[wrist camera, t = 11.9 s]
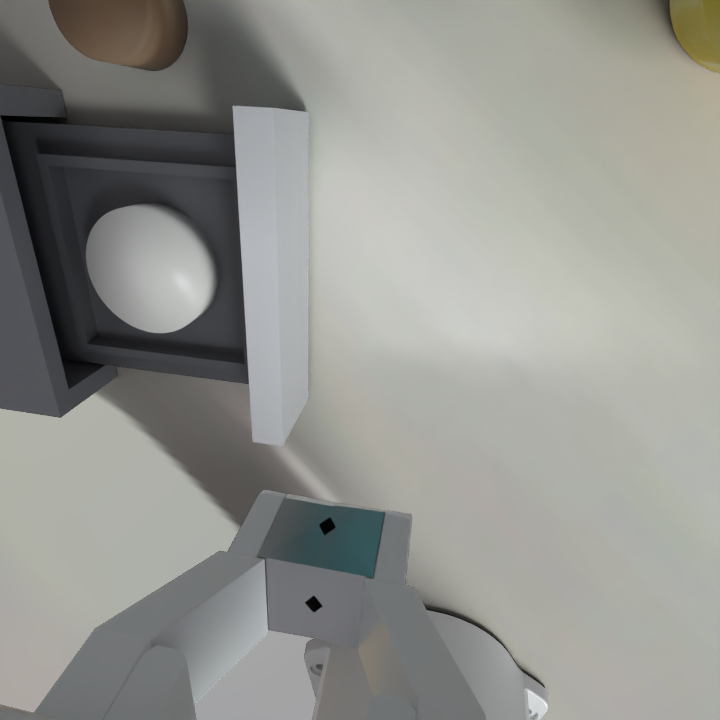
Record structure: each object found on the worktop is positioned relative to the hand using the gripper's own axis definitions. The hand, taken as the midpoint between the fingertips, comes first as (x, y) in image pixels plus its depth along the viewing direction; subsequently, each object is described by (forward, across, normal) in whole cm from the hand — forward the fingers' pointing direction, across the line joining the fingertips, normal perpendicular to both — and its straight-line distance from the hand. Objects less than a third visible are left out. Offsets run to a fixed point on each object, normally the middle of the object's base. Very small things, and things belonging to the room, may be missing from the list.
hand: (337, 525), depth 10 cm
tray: (+17, +14, 0) cm, 22 cm away
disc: (+16, +13, 0) cm, 20 cm away
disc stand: (+17, +13, -11) cm, 24 cm away
